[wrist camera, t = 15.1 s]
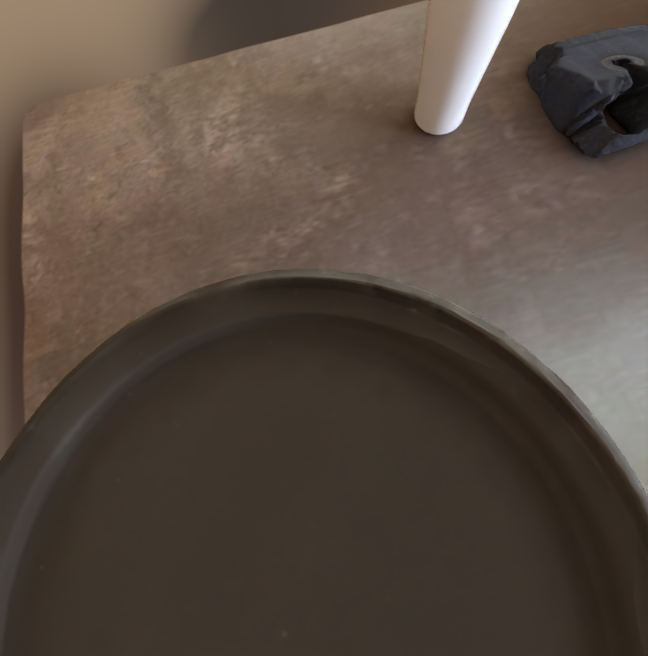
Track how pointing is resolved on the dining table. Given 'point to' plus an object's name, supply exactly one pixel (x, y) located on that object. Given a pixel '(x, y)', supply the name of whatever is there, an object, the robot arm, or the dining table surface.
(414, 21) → the dining table surface
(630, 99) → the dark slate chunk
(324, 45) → the dining table surface
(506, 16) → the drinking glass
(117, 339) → the coffee can
